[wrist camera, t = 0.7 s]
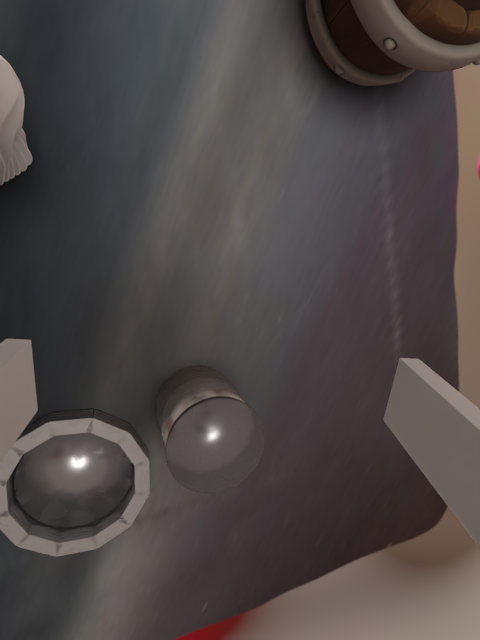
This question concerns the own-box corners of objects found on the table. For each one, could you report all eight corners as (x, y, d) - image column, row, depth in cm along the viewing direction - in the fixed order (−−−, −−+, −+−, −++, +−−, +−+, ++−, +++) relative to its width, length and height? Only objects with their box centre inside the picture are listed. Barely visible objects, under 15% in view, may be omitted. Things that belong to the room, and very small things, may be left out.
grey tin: (181, 351, 33) (200, 382, 26) (246, 384, 36) (282, 422, 28) (139, 421, 33) (146, 473, 26) (208, 450, 36) (232, 505, 28)
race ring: (42, 387, 30) (38, 395, 29) (172, 441, 35) (175, 451, 33) (-34, 515, 30) (-42, 531, 29) (105, 553, 35) (105, 569, 33)
